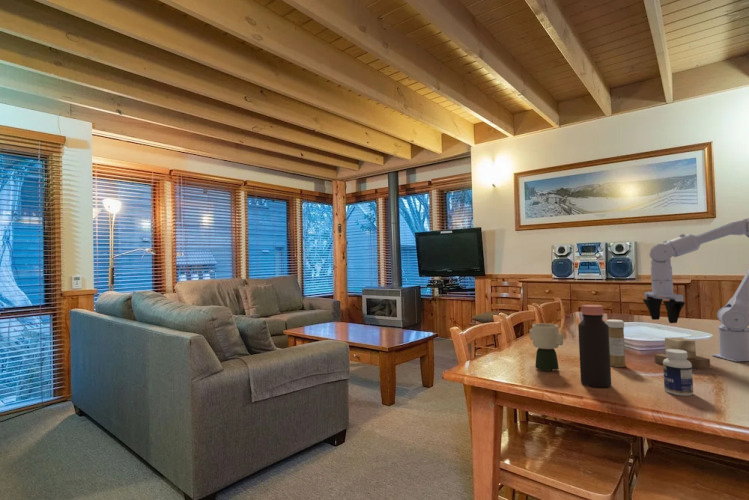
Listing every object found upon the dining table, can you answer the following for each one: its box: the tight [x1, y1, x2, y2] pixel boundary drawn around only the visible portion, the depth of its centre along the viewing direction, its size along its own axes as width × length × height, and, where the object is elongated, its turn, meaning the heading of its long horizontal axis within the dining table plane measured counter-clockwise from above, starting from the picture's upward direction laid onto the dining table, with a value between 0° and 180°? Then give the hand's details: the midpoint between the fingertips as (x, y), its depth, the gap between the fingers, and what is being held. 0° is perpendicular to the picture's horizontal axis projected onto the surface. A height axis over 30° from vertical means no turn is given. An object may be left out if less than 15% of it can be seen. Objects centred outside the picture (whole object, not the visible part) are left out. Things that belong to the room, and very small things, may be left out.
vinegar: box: [577, 304, 612, 389], centre depth 100 cm, size 7×7×20 cm
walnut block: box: [654, 353, 711, 371], centre depth 114 cm, size 9×9×3 cm
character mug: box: [529, 322, 564, 372], centre depth 113 cm, size 11×7×13 cm, turn 29°
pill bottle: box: [662, 349, 694, 397], centre depth 92 cm, size 5×5×10 cm
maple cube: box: [664, 337, 697, 359], centre depth 114 cm, size 5×5×5 cm
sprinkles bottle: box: [605, 318, 627, 368], centre depth 116 cm, size 5×5×14 cm
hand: (664, 321), depth 130 cm, fingers open, 7 cm apart
